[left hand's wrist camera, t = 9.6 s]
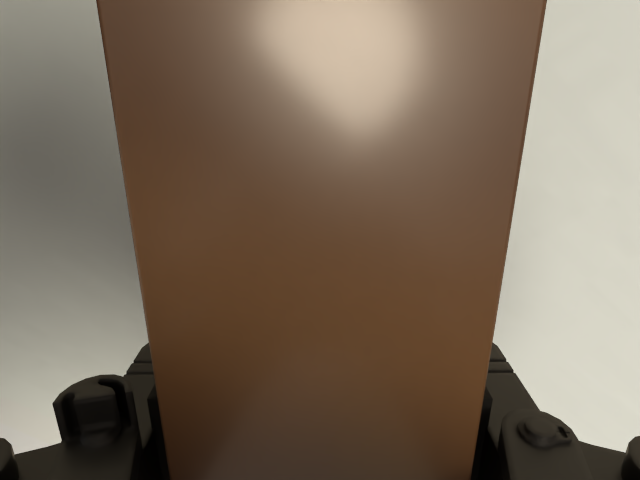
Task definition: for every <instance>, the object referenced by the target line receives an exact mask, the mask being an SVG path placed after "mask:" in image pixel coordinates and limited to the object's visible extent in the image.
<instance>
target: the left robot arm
mask: <svg viewBox="0 0 640 480" xmlns="http://www.w3.org/2000/svg"><path fill="white" fill-rule="evenodd" d="M53 408H54V411H55V415H56V419H57V423H58V427H59V431H60V435H61V439H62V441H61V443H58V444H55V445H52V446H49V447H45V448H40V449H36V450H32V451H28V452H24V453H19V454H15V455H14V452H13V449H12V445H11V444H10V443H9V442H8V441H7V440H6V439H4V438H0V480H170V476H169V469H168V463H167V456H166V450H165V443H164V437H163V430H162V424H161V417H160V411H159V404H158V398H157V391H156V385H155V378H154V372H153V365H152V359H151V352H150V346H149V343H148V344H146V345H145V346H144V347H142V349H141V350H140V352H139V353H138V355H137V356H136V358H135V360H134V363H132V364H131V366H130V367H129V369H128V370H127V373H126V375H124V376H123V377H122V376H118V375H99V376H94V377H90V378H86V379H84V380H82V381H80V382H77V383H75V384H73V385H71V386H70V387H68V388H67V389H66V390H64V391H63V392H62V393H60V394H59V396H58V397H57V398H56V400H55V401H54V402H53ZM470 480H640V436H637V437H635V438H634V439H632V440H631V441H630V442H629V444H628V447H627V450H626V453H624V452H620V451H616V450H612V449H607V448H603V447H599V446H594V445H591V444H587V443H584V442H581V441H578V439H577V437H576V436H575V434H574V432H573V431H572V429H571V428H569V427H568V426H567V425H566V424H565V423H563V422H562V421H561V420H560V419H558V418H556V417H554V416H552V415H550V414H548V413H545V412H542V411H540V410H539V409H538V407H537V406H536V404H535V403H534V401H533V400H532V398H531V396H530V395H529V393H528V392H527V390H526V389H525V387H524V386H523V384H522V383H521V381H520V380H519V378H518V377H517V375H516V374H515V373H513V369H512V367H511V366H510V364H509V363H508V362H506V358H505V357H504V355H503V354H502V352H501V351H500V349H499V348H498V346H497V345H495V344H494V343H493V342H492V347H491V354H490V360H489V366H488V372H487V379H486V385H485V391H484V398H483V404H482V410H481V416H480V423H479V429H478V435H477V441H476V448H475V454H474V460H473V466H472V473H471V479H470Z"/></svg>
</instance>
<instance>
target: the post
mask: <svg viewBox="0 0 640 480" xmlns="http://www.w3.org/2000/svg"><path fill="white" fill-rule="evenodd" d="M96 2H97V8H98V14H99V21H100V27H101V34H102V40H103V47H104V53H105V60H106V66H107V73H108V79H109V86H110V92H111V99H112V105H113V112H114V118H115V125H116V131H117V138H118V144H119V151H120V157H121V164H122V170H123V177H124V183H125V190H126V196H127V203H128V209H129V216H130V222H131V229H132V235H133V242H134V248H135V255H136V261H137V268H138V274H139V281H140V287H141V294H142V300H143V307H144V313H145V320H146V326H147V333H148V339H149V346H150V352H151V359H152V365H153V372H154V378H155V385H156V391H157V398H158V404H159V411H160V417H161V424H162V430H163V437H164V443H165V450H166V456H167V463H168V469H169V476H170V480H470V479H471V473H472V466H473V460H474V454H475V448H476V441H477V435H478V429H479V423H480V416H481V410H482V404H483V398H484V391H485V385H486V379H487V372H488V366H489V360H490V354H491V347H492V341H493V335H494V329H495V322H496V316H497V310H498V304H499V297H500V291H501V285H502V278H503V272H504V266H505V260H506V253H507V247H508V241H509V235H510V228H511V222H512V216H513V209H514V203H515V197H516V191H517V184H518V178H519V172H520V166H521V159H522V153H523V147H524V141H525V134H526V128H527V122H528V115H529V109H530V103H531V97H532V90H533V84H534V78H535V72H536V65H537V59H538V53H539V46H540V40H541V34H542V28H543V21H544V15H545V9H546V3H547V0H96Z"/></svg>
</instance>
